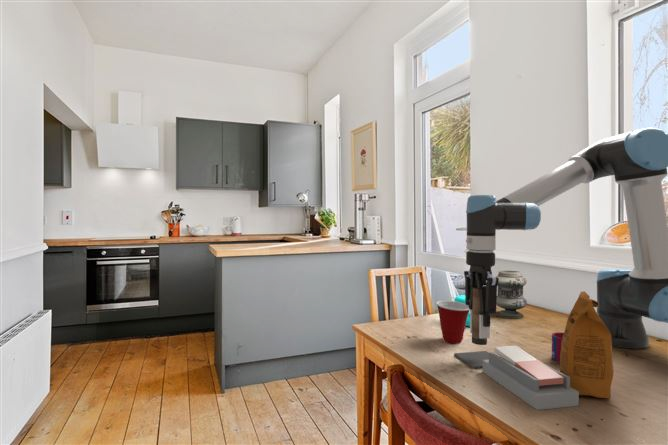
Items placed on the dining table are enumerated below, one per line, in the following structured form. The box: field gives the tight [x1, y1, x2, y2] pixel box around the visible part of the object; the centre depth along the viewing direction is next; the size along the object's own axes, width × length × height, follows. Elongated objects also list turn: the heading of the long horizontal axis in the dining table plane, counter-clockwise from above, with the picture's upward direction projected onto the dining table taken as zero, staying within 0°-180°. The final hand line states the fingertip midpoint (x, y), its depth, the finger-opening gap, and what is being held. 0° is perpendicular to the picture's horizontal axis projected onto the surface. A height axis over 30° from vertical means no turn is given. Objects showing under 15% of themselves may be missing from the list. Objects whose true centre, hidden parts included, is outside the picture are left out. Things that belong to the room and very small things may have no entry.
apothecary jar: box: [495, 269, 528, 319], centre depth 155 cm, size 12×12×18 cm
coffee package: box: [559, 291, 615, 399], centre depth 89 cm, size 10×12×22 cm
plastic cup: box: [436, 300, 470, 344], centre depth 124 cm, size 11×11×12 cm
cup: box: [551, 331, 564, 364], centre depth 106 cm, size 7×10×7 cm
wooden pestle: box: [471, 288, 488, 346], centre depth 107 cm, size 4×4×15 cm
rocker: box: [493, 345, 564, 386], centre depth 90 cm, size 16×6×1 cm, turn 11°
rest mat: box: [453, 350, 489, 370], centre depth 107 cm, size 10×10×1 cm
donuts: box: [453, 294, 470, 328], centre depth 143 cm, size 10×10×10 cm
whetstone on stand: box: [482, 351, 580, 411], centre depth 90 cm, size 10×20×6 cm, turn 11°
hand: (479, 335), depth 107 cm, fingers closed on wooden pestle, 4 cm apart
